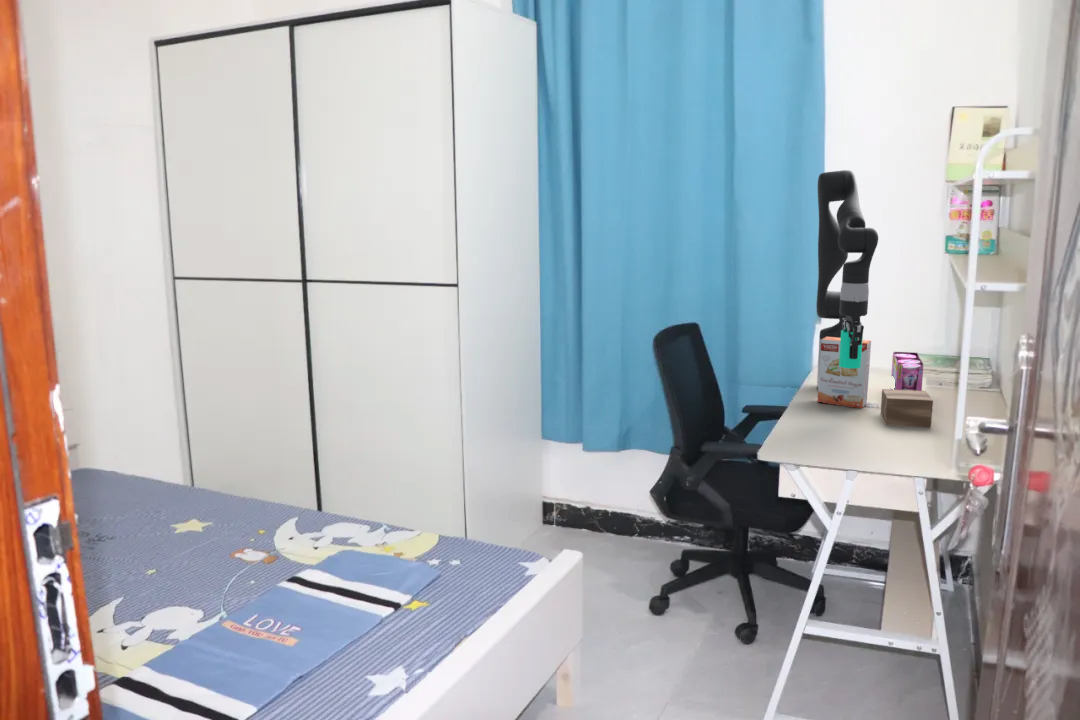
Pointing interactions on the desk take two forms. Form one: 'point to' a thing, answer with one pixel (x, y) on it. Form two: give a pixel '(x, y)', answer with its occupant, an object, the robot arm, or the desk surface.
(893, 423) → the walnut block
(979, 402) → the desk surface
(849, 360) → the candle
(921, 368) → the gum box
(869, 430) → the desk surface
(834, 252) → the robot arm
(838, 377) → the cracker box
